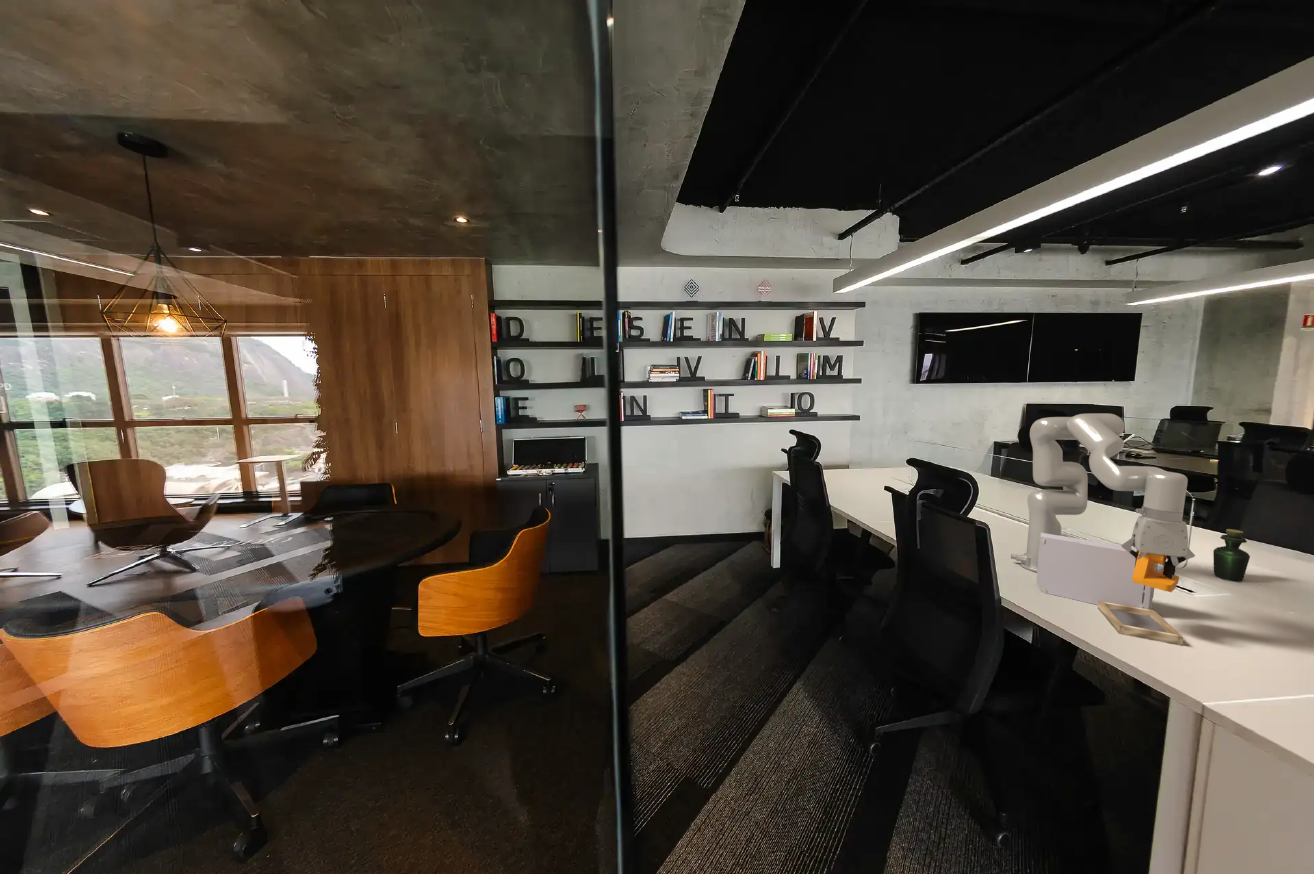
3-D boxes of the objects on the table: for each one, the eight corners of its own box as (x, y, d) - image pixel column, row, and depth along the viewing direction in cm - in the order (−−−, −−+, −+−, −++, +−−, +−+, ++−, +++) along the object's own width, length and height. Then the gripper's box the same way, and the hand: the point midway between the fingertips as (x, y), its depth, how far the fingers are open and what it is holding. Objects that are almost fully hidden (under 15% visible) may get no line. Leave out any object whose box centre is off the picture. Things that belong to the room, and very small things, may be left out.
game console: (1152, 618, 134) (1159, 556, 131) (1035, 591, 152) (1040, 536, 150) (1149, 610, 138) (1156, 550, 136) (1036, 585, 156) (1040, 532, 154)
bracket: (1168, 594, 121) (1175, 554, 119) (1131, 584, 127) (1137, 545, 125) (1178, 584, 126) (1185, 545, 125) (1142, 575, 133) (1148, 537, 131)
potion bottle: (1227, 573, 163) (1233, 527, 161) (1254, 583, 155) (1261, 534, 153) (1203, 573, 164) (1209, 527, 162) (1228, 582, 156) (1235, 534, 154)
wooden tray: (1119, 633, 126) (1119, 625, 125) (1097, 608, 140) (1098, 600, 140) (1182, 645, 119) (1183, 637, 119) (1153, 617, 134) (1154, 610, 133)
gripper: (1126, 514, 125) (1119, 574, 127) (1214, 522, 117) (1204, 586, 119) (1115, 507, 132) (1108, 564, 134) (1197, 515, 123) (1188, 575, 126)
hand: (1153, 574), depth 127 cm, fingers closed on bracket, 4 cm apart
